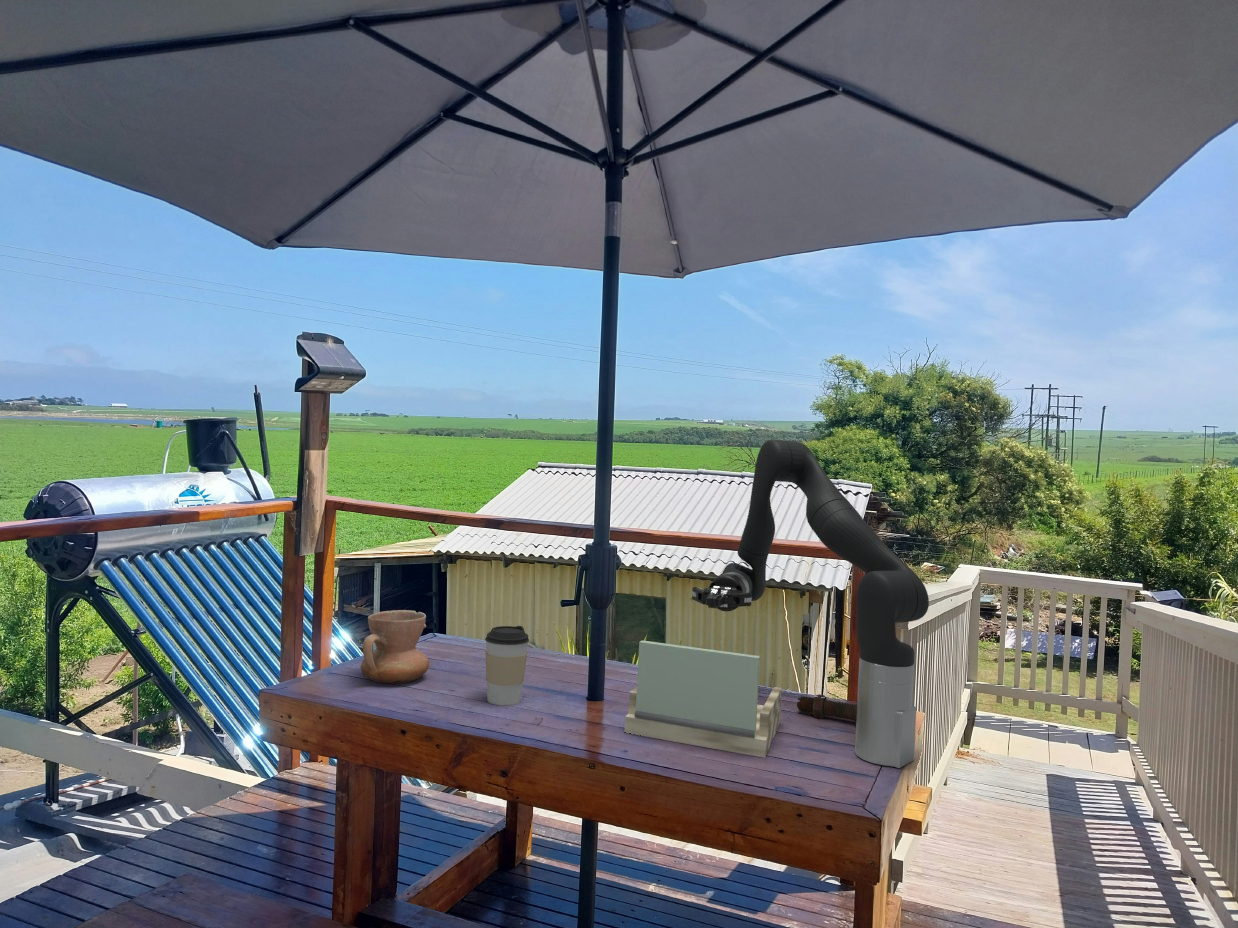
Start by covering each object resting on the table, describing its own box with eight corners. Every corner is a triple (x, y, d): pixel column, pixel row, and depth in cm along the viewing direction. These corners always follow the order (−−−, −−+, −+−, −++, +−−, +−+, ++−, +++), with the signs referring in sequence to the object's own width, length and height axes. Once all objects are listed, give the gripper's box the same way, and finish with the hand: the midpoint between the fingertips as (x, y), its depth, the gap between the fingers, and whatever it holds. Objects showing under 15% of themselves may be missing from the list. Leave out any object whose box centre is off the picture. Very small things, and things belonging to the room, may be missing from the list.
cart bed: (655, 702, 157) (656, 669, 157) (779, 723, 148) (781, 688, 148) (624, 732, 138) (626, 694, 138) (764, 757, 130) (766, 717, 130)
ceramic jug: (398, 665, 176) (400, 604, 176) (446, 675, 169) (448, 612, 169) (337, 683, 160) (339, 617, 160) (386, 695, 153) (389, 626, 153)
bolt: (799, 720, 157) (873, 733, 150) (793, 713, 153) (868, 726, 146) (803, 692, 160) (876, 704, 152) (797, 685, 156) (872, 697, 148)
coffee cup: (494, 709, 147) (498, 633, 147) (474, 696, 155) (478, 624, 155) (533, 703, 153) (537, 630, 153) (512, 691, 160) (516, 621, 160)
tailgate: (637, 715, 139) (641, 640, 139) (755, 735, 132) (759, 656, 132) (634, 718, 137) (638, 642, 137) (753, 738, 130) (758, 658, 130)
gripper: (700, 570, 163) (680, 580, 147) (761, 576, 159) (747, 587, 142) (698, 604, 163) (678, 618, 147) (759, 611, 159) (745, 626, 142)
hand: (712, 602), depth 145 cm, fingers closed
